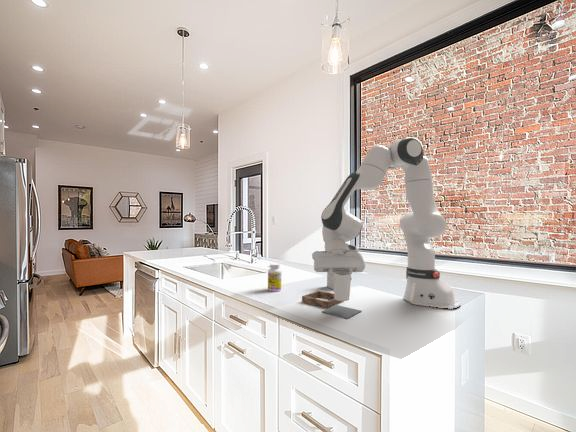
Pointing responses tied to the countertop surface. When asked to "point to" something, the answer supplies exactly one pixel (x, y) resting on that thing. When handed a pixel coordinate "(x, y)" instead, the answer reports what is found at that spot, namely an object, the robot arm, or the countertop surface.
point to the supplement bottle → (274, 277)
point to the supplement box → (330, 281)
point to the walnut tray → (312, 300)
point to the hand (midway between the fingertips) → (342, 280)
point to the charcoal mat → (341, 311)
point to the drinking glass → (342, 285)
